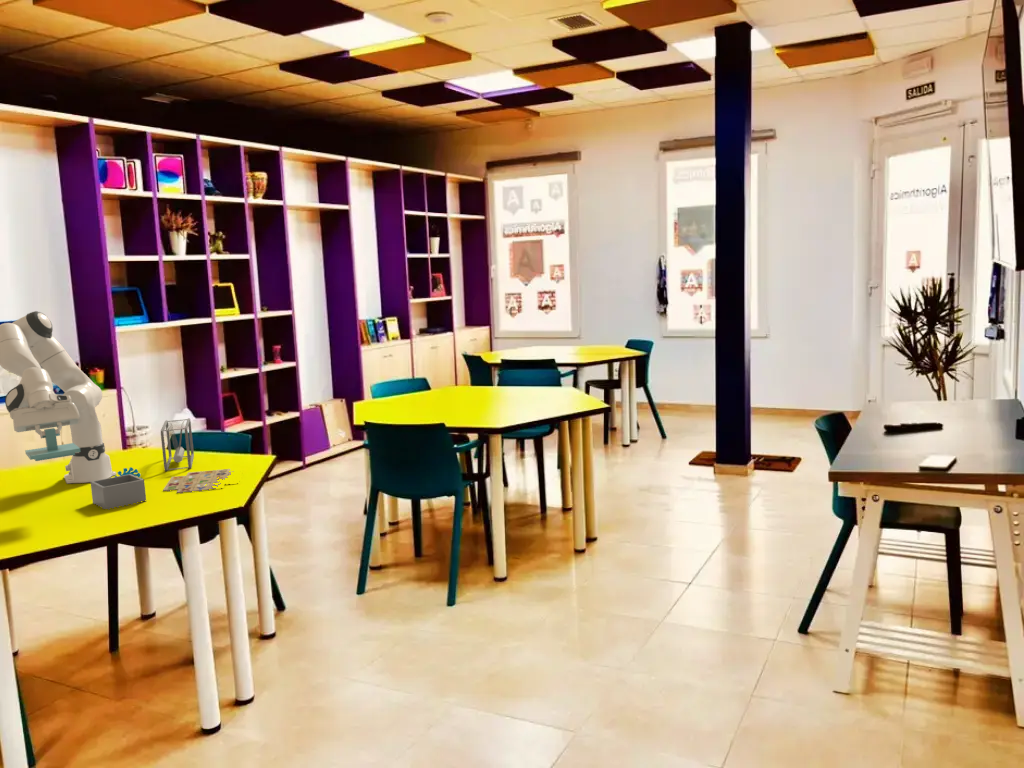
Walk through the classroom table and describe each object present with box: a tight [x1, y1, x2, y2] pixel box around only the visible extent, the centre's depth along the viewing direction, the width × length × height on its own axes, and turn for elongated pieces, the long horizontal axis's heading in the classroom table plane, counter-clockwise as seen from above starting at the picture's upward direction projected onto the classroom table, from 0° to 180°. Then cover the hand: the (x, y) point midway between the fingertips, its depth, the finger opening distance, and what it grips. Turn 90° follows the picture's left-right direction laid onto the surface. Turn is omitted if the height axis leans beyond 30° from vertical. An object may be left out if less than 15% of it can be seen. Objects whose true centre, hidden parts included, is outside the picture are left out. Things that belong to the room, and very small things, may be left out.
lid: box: [24, 427, 81, 462], centre depth 290 cm, size 15×15×9 cm
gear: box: [114, 467, 143, 479], centre depth 328 cm, size 11×6×10 cm
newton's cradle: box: [160, 417, 195, 472], centre depth 367 cm, size 30×10×18 cm, turn 18°
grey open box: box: [90, 474, 147, 510], centre depth 306 cm, size 14×14×8 cm
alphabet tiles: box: [162, 468, 235, 494], centre depth 332 cm, size 28×33×1 cm
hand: (50, 436), depth 289 cm, fingers closed on lid, 3 cm apart
